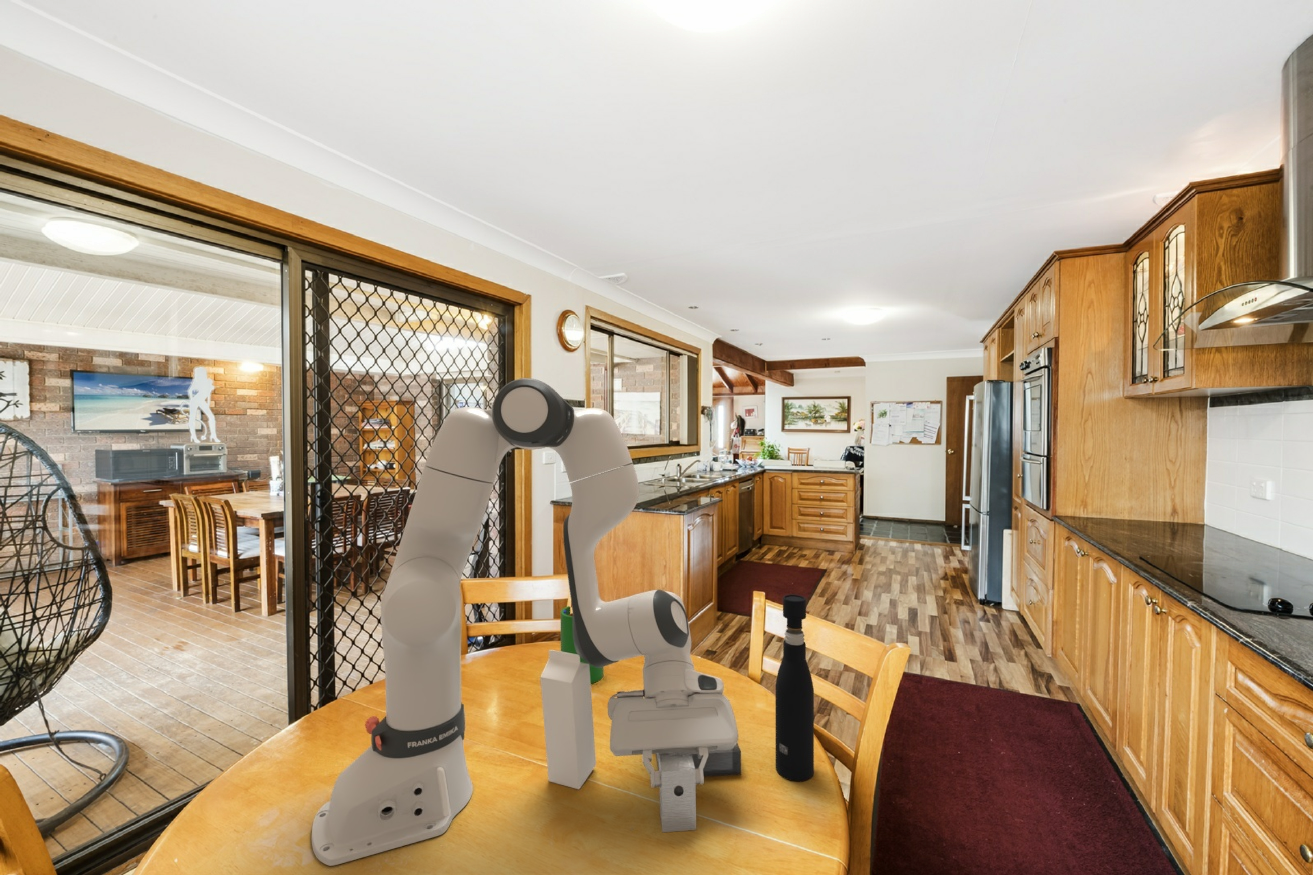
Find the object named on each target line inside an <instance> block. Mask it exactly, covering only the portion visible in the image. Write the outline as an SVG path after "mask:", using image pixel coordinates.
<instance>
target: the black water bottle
mask: <svg viewBox="0 0 1313 875" xmlns="http://www.w3.org/2000/svg"><path fill="white" fill-rule="evenodd" d="M782 617H783V618H785V619H786V629H785V632H784V640H783V643H782V649H783V650H782V652H783V654H782V655H783V656H782V659H781V663H780V665H779V668H778V671H777V675H776V680H775V689H774V691H775V693H774V694H775V696H774V697H775V701H774V702H775V770H776V772H777V774H778V775H780V776H781V777H782V778H784V779H786V780H788V781H791V782H798V781H799V783H800V781H801V782H806V781H809V780H810V779H812V777H813V776H814V773H815V767H814V766H815V764H814V763H815V761H814V760H815V758H814V757H815V753H814V752H815V750H814V749H815V747H814V746H815V744H814V743H815V738H814V737H815V731H814V730H815V725H814V724H815V718H814V717H815V716H814V715H815V714H814V712H815V705H814V704H815V702H814V701H815V692H814V689H815V688H814V683H813V679H812V678H813V677H812V673H811V671H810V668H809V664H808V662H807V659H806V658H807V655H806V654H807V653H806V652H807V651H806V650H807V649H806V648H807V647H806V646H807V645H806V644H807V643H806V642H805V634H804V631H803V620H805V619H806V618H807V598H806V597H805V596H802V595H799V594H786V595H784V596H782Z"/></svg>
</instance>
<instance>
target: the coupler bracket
mask: <svg viewBox="0 0 1313 875" xmlns="http://www.w3.org/2000/svg"><path fill="white" fill-rule="evenodd" d="M686 753H691V754H692V758H693V762H694V766H695V769H698V768H699V765H700V763H701V760H702V758H701V759H698V754H697V752H679V753H662V754H655V757H656V763H657V771H659V755H672V754H686ZM738 774H740V776H741V775H742V751H741V748H740V745H739V743H738V742H737V743H736V745H735V746H734V748H733V749H731V750H714V751H708V758H707V760H706V763H705V766H704V768H703V776H704V777H709V778H710V777H721V776H738Z"/></svg>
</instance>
